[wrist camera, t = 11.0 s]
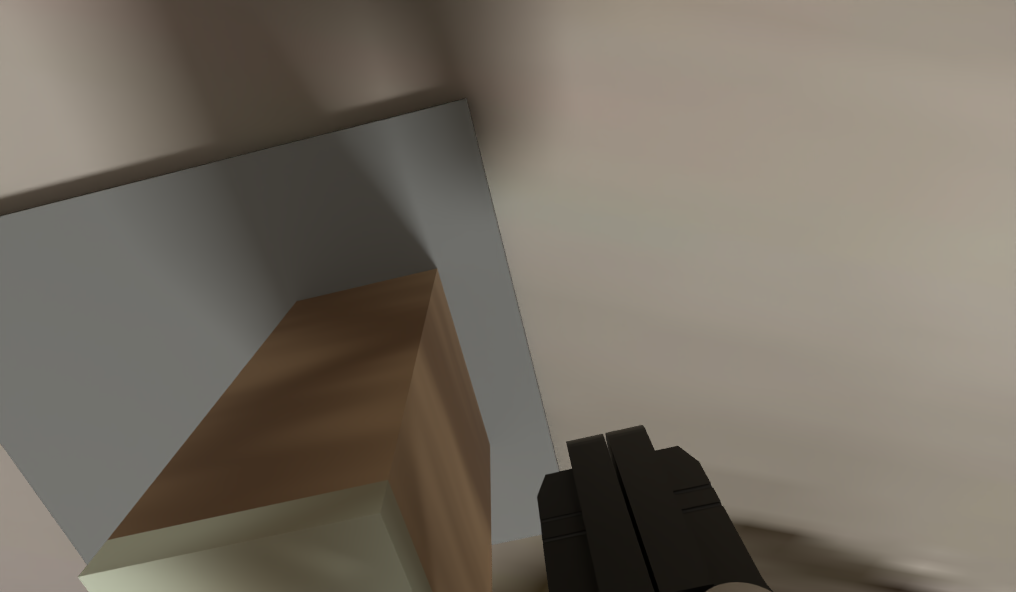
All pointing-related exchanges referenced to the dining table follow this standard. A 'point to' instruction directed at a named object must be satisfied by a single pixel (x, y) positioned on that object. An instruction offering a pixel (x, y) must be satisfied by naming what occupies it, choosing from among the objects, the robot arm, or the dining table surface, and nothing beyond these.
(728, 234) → the dining table surface
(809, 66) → the dining table surface
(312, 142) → the mat
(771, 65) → the dining table surface
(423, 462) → the block
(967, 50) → the dining table surface
